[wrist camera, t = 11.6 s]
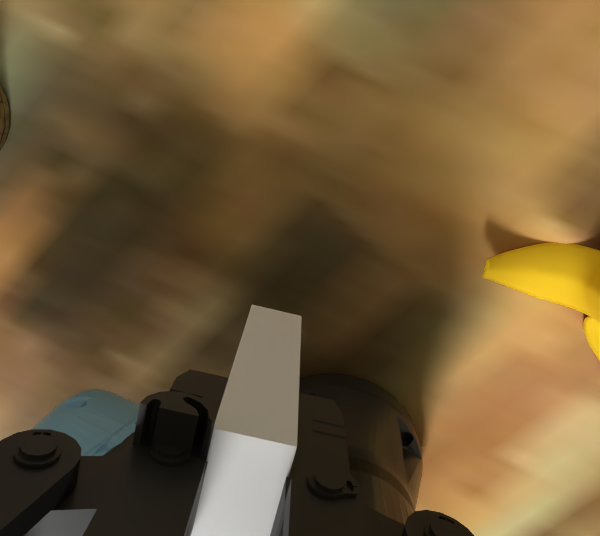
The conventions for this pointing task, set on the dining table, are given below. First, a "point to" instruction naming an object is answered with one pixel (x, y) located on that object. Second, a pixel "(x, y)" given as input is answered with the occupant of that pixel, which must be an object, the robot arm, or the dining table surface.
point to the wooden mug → (3, 117)
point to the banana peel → (555, 279)
